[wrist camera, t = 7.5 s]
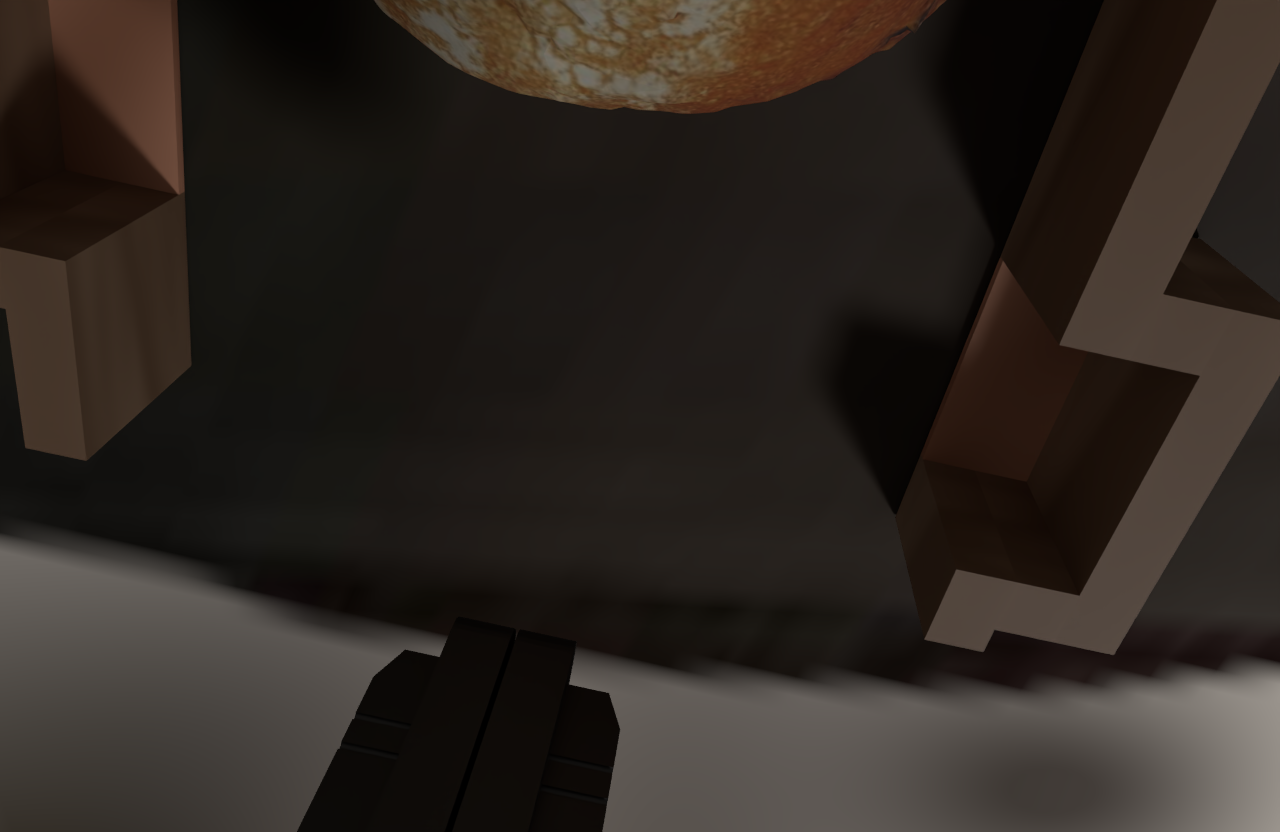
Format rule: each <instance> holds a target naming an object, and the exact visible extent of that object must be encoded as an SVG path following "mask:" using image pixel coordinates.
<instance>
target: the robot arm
mask: <svg viewBox="0 0 1280 832" xmlns="http://www.w3.org/2000/svg"><path fill="white" fill-rule="evenodd" d="M515 638H516V640H515ZM576 643H577V642H576V641H572V640H567V639H563V638H558V637H553V636H549V635H544V634H539V633H535V632H530V631H525V630H521V629H520V630H519V632H518V635H517V637H516V629H515V628H510V627H505V626H501V625H496V624H491V623H487V622H482V621H477V620H473V619H468V618H463V617H458V618H457V619H456V621H455V622H454V625H453V627H452V629H451V631H450V634H449V636H448V639H447V641H446V643H445V646H444V648H443V650H442V653H441V655H440V657H437V656H432V655H428V654H423V653H418V652H414V651H409V650H404V651H403V652H402V653H401V654H400V655H398V656H397V657H396V658H395V659H394V660H393V661H391V662H390V663H389V664H388V665H387V666H385V667H384V668H383V669H382V670H381V671H380V672H378V673H377V674H376V675H375V676H374V677H373V679H372V681H371V683H370V685H369V687H368V689H367V691H366V693H365V695H364V697H363V699H362V701H361V703H360V705H359V707H358V709H357V711H356V715H355V718H354V719H352V721H351V723H350V725H349V727H348V729H347V731H346V733H345V736H344V737H343V739H342V742H341V746H340V749H338V750H337V752H336V754H335V756H334V758H333V760H332V762H331V764H330V766H329V768H328V770H327V772H326V774H325V776H324V778H323V780H322V782H321V784H320V786H319V788H318V790H317V792H316V794H315V796H314V799H313V800H312V802H311V804H310V806H309V808H308V810H307V812H306V814H305V816H304V818H303V821H302V822H301V825H300V827H299V829H298V831H297V832H602V830H603V824H604V818H605V813H606V806H607V801H608V796H609V790H610V784H611V778H612V772H613V767H614V761H615V756H616V750H617V744H618V739H619V732H620V728H619V725H618V721H617V718H616V715H615V711H614V708H613V705H612V702H611V698H610V695H609V693H606V692H601V691H596V690H592V689H587V688H582V687H578V686H573V685H569V682H570V676H571V671H572V666H573V660H574V655H575V650H576Z"/></svg>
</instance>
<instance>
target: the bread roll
mask: <svg viewBox="0 0 1280 832" xmlns="http://www.w3.org/2000/svg"><path fill="white" fill-rule="evenodd" d="M374 1H375V2H376V4H377V5H378V6H379V7H380V9H381V10H382V11H383V12H384V13H385V14H387V15H388V16H389V17H390V18H392V19H393V20H394V21H396V22H397V23H398V24H400V25H401V26H402V27H403V28H405V29H406V30H407V31H408V32H410V33H411V34H412V35H413V36H414V37H416V38H417V39H418V40H419V41H420V42H422V43H423V44H424V45H425V46H427V47H428V48H429V49H431V50H432V51H433V52H434V53H436V54H437V55H438V56H439V57H441V58H442V59H443V60H445V61H446V62H447V63H449V64H451V65H453V66H454V67H456V68H458V69H460V70H462V71H464V72H466V73H468V74H470V75H472V76H475V77H477V78H479V79H482V80H484V81H487V82H489V83H492V84H494V85H496V86H499V87H502V88H504V89H507V90H509V91H512V92H516V93H520V94H525V95H531V96H536V97H541V98H547V99H552V100H557V101H561V102H568V103H573V104H578V105H582V106H587V107H593V108H601V109H609V110H611V109H616V108H621V107H627V108H632V109H637V110H656V111H667V112H674V113H682V114H692V113H707V112H717V111H720V110H723V109H725V108H728V107H732V106H739V105H745V104H752V103H759V102H765V101H770V100H773V99H776V98H778V97H781V96H784V95H787V94H790V93H793V92H796V91H798V90H800V89H802V88H804V87H806V86H809V85H811V84H813V83H816V82H818V81H822V80H831V79H834V78H836V77H837V75H838V74H840V73H841V72H843V71H845V70H847V69H848V68H850V67H852V66H854V65H856V64H857V63H859V62H860V61H862V60H864V59H865V58H867V57H868V56H870V55H871V54H873V53H876V52H879V51H884V50H889V49H890V48H891V47H893V46H894V45H895V44H896V43H898V42H899V41H900V40H901V39H902V38H904V37H905V36H906V35H907V34H909V33H910V32H913V33H916V32H917V30H918V28H919V26H920V25H921V24H922V22H923V21H924V20H925V19H927V18H928V17H929V16H930V15H931V14H932V13H933V12H934V11H936V10H937V8H938V7H939V6H940V5H942V4H943V3H944V2H945V1H946V0H374Z"/></svg>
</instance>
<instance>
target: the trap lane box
mask: <svg viewBox="0 0 1280 832" xmlns="http://www.w3.org/2000/svg"><path fill="white" fill-rule="evenodd" d="M1279 62H1280V0H1104V1H1103V4H1102V6H1101V9H1100V11H1099V14H1098V16H1097V19H1096V21H1095V24H1094V26H1093V29H1092V31H1091V33H1090V36H1089V38H1088V41H1087V43H1086V46H1085V48H1084V51H1083V53H1082V56H1081V58H1080V61H1079V63H1078V66H1077V68H1076V71H1075V73H1074V76H1073V78H1072V81H1071V83H1070V86H1069V88H1068V90H1067V93H1066V95H1065V98H1064V100H1063V103H1062V105H1061V108H1060V110H1059V113H1058V115H1057V118H1056V120H1055V123H1054V125H1053V128H1052V130H1051V133H1050V135H1049V138H1048V140H1047V142H1046V145H1045V147H1044V150H1043V152H1042V155H1041V157H1040V160H1039V162H1038V165H1037V167H1036V170H1035V172H1034V175H1033V177H1032V180H1031V182H1030V185H1029V187H1028V190H1027V192H1026V195H1025V197H1024V199H1023V202H1022V204H1021V207H1020V209H1019V212H1018V214H1017V217H1016V219H1015V222H1014V224H1013V227H1012V229H1011V232H1010V234H1009V237H1008V239H1007V242H1006V244H1005V247H1004V249H1003V252H1002V254H1001V256H1000V259H999V261H998V264H997V266H996V269H995V271H994V274H993V276H992V279H991V281H990V284H989V286H988V289H987V291H986V294H985V296H984V299H983V301H982V304H981V306H980V308H979V311H978V313H977V316H976V318H975V321H974V323H973V326H972V328H971V331H970V333H969V336H968V338H967V341H966V343H965V346H964V348H963V351H962V353H961V356H960V358H959V361H958V363H957V365H956V368H955V370H954V373H953V375H952V378H951V380H950V383H949V385H948V388H947V390H946V393H945V395H944V398H943V400H942V403H941V405H940V408H939V410H938V413H937V415H936V417H935V420H934V422H933V425H932V427H931V430H930V432H929V435H928V437H927V440H926V442H925V445H924V447H923V450H922V452H921V455H920V457H919V460H918V462H917V465H916V467H915V470H914V472H913V474H912V477H911V479H910V482H909V484H908V487H907V489H906V492H905V494H904V497H903V499H902V502H901V504H900V507H899V509H898V512H897V514H896V517H895V518H896V522H897V526H898V530H899V535H900V539H901V543H902V547H903V551H904V556H905V560H906V564H907V568H908V573H909V577H910V581H911V585H912V589H913V594H914V598H915V602H916V606H917V610H918V615H919V619H920V623H921V627H922V631H923V636H924V639H925V640H929V641H934V642H939V643H944V644H948V645H953V646H958V647H962V648H967V649H972V650H976V651H981V652H984V650H985V648H986V646H987V644H988V642H989V640H990V638H991V636H992V634H993V632H994V630H999V631H1004V632H1008V633H1013V634H1018V635H1022V636H1027V637H1032V638H1036V639H1041V640H1046V641H1050V642H1055V643H1060V644H1064V645H1069V646H1074V647H1078V648H1083V649H1088V650H1092V651H1097V652H1102V653H1106V654H1111V655H1114V654H1115V652H1116V650H1117V648H1118V647H1119V645H1120V643H1121V642H1122V640H1123V638H1124V637H1125V635H1126V633H1127V632H1128V630H1129V628H1130V627H1131V625H1132V623H1133V622H1134V620H1135V618H1136V616H1137V615H1138V613H1139V611H1140V610H1141V608H1142V606H1143V605H1144V603H1145V601H1146V600H1147V598H1148V596H1149V595H1150V593H1151V591H1152V590H1153V588H1154V586H1155V584H1156V583H1157V581H1158V579H1159V578H1160V576H1161V574H1162V573H1163V571H1164V569H1165V568H1166V566H1167V564H1168V563H1169V561H1170V559H1171V558H1172V556H1173V554H1174V553H1175V551H1176V549H1177V547H1178V546H1179V544H1180V542H1181V541H1182V539H1183V537H1184V536H1185V534H1186V532H1187V531H1188V529H1189V527H1190V526H1191V524H1192V522H1193V521H1194V519H1195V517H1196V515H1197V514H1198V512H1199V510H1200V509H1201V507H1202V505H1203V504H1204V502H1205V500H1206V499H1207V497H1208V495H1209V494H1210V492H1211V490H1212V489H1213V487H1214V485H1215V483H1216V482H1217V480H1218V478H1219V477H1220V475H1221V473H1222V472H1223V470H1224V468H1225V467H1226V465H1227V463H1228V462H1229V460H1230V458H1231V457H1232V455H1233V453H1234V452H1235V450H1236V448H1237V446H1238V445H1239V443H1240V441H1241V440H1242V438H1243V436H1244V435H1245V433H1246V431H1247V430H1248V428H1249V426H1250V425H1251V423H1252V421H1253V420H1254V418H1255V416H1256V414H1257V413H1258V411H1259V409H1260V408H1261V406H1262V404H1263V403H1264V401H1265V399H1266V398H1267V396H1268V394H1269V393H1270V391H1271V389H1272V388H1273V386H1274V384H1275V382H1276V381H1277V379H1278V377H1279V376H1280V303H1279V302H1278V301H1277V300H1275V299H1274V298H1273V297H1272V296H1270V295H1269V294H1268V293H1267V292H1266V291H1264V290H1263V289H1262V288H1261V287H1259V286H1258V285H1257V284H1256V283H1254V282H1253V281H1252V280H1251V279H1249V278H1248V277H1247V276H1246V275H1245V274H1243V273H1242V272H1241V271H1240V270H1238V269H1237V268H1236V267H1235V266H1233V265H1232V264H1231V263H1230V262H1228V261H1227V260H1226V259H1225V258H1224V257H1222V256H1221V255H1220V254H1219V253H1217V252H1216V251H1215V250H1214V249H1212V248H1211V247H1210V246H1209V245H1207V244H1206V243H1205V242H1204V241H1203V240H1201V239H1197V238H1193V237H1192V236H1193V234H1194V232H1195V230H1196V228H1197V226H1198V224H1199V222H1200V220H1201V218H1202V216H1203V214H1204V212H1205V210H1206V208H1207V206H1208V204H1209V202H1210V200H1211V198H1212V196H1213V194H1214V192H1215V190H1216V188H1217V186H1218V184H1219V182H1220V180H1221V178H1222V176H1223V174H1224V172H1225V170H1226V168H1227V166H1228V164H1229V162H1230V160H1231V158H1232V156H1233V154H1234V152H1235V150H1236V148H1237V146H1238V144H1239V142H1240V140H1241V138H1242V136H1243V134H1244V132H1245V130H1246V128H1247V126H1248V124H1249V122H1250V120H1251V118H1252V116H1253V114H1254V112H1255V110H1256V108H1257V106H1258V104H1259V102H1260V100H1261V98H1262V96H1263V94H1264V92H1265V90H1266V88H1267V86H1268V84H1269V82H1270V80H1271V78H1272V76H1273V74H1274V72H1275V70H1276V68H1277V66H1278V64H1279ZM0 308H4V309H6V314H7V321H8V328H9V335H10V342H11V349H12V356H13V363H14V370H15V377H16V384H17V391H18V399H19V406H20V413H21V420H22V427H23V434H24V441H25V448H29V449H33V450H38V451H43V452H47V453H52V454H57V455H62V456H66V457H71V458H76V459H80V460H85V461H87V460H88V459H89V458H90V457H91V456H92V455H93V454H94V453H96V452H97V451H98V450H99V449H100V448H101V447H102V446H103V445H104V444H105V443H107V442H108V441H109V440H110V439H111V438H112V437H113V436H114V435H115V434H116V433H118V432H119V431H120V430H121V429H122V428H123V427H124V426H125V425H126V424H127V423H129V422H130V421H131V420H132V419H133V418H134V417H135V416H136V415H137V414H138V413H140V412H141V411H142V410H143V409H144V408H145V407H146V406H147V405H148V404H149V403H151V402H152V401H153V400H154V399H155V398H156V397H157V396H158V395H159V394H160V393H162V392H163V391H164V390H165V389H166V388H167V387H168V386H169V385H170V384H171V383H173V382H174V381H175V380H176V379H177V378H178V377H179V376H180V375H181V374H182V373H184V372H185V371H186V370H187V369H188V368H189V367H190V366H191V344H190V318H189V293H188V267H187V242H186V216H185V190H184V165H183V139H182V114H181V88H180V62H179V37H178V11H177V0H0Z"/></svg>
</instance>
